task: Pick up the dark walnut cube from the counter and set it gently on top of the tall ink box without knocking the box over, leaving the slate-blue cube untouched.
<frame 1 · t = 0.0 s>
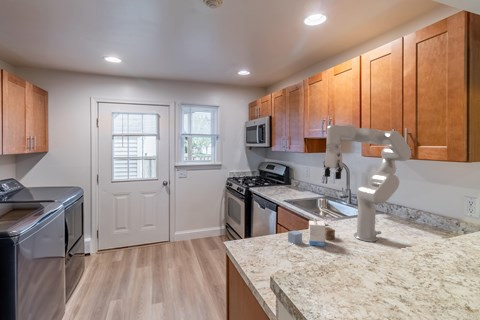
hand: (332, 177, 140), 37 cm above the countertop, tool pointing down, fingers open, 9 cm apart
walnut cube: (327, 238, 148), on the countertop
ink box: (316, 243, 140), on the countertop
slate cube: (294, 242, 142), on the countertop
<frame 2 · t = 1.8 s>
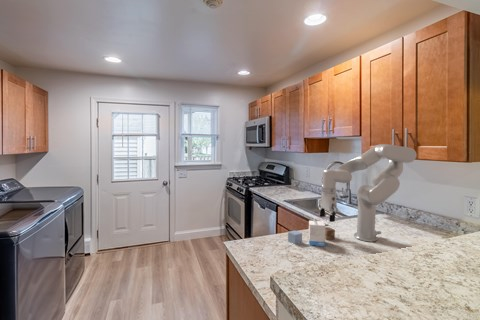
hand: (326, 219, 148), 11 cm above the countertop, tool pointing down, fingers open, 9 cm apart
nothing on the countertop moved.
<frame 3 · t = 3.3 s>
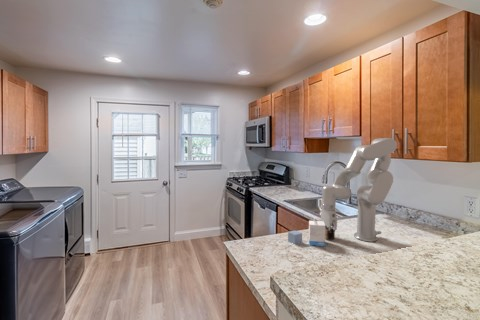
hand: (327, 236, 148), 1 cm above the countertop, tool pointing down, fingers closed on walnut cube, 5 cm apart
walnut cube: (327, 237, 148), on the countertop, touching gripper
everything else where it was.
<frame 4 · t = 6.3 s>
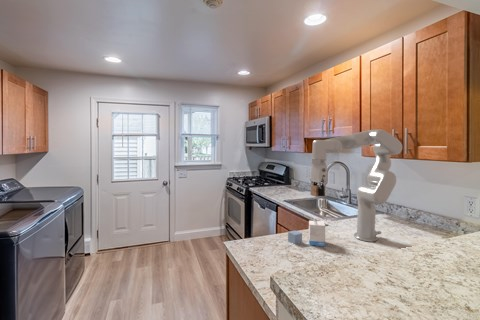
hand: (317, 194, 139), 28 cm above the countertop, tool pointing down, fingers closed on walnut cube, 5 cm apart
walnut cube: (317, 195, 139), point 27 cm above the countertop, touching gripper
everything else where it was.
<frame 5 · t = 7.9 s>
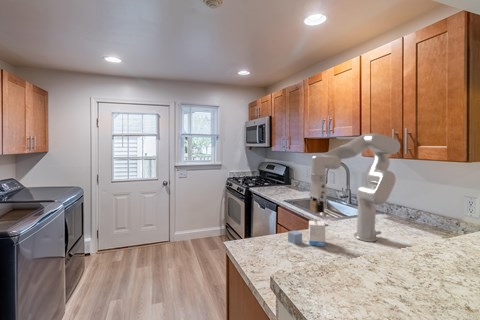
hand: (317, 209, 139), 19 cm above the countertop, tool pointing down, fingers closed on walnut cube, 5 cm apart
walnut cube: (316, 211, 139), point 18 cm above the countertop, touching gripper
everything else where it was.
when the fingers open (14 cm above the countertop, at t = 9.2 s): walnut cube stays where it is, resting on ink box.
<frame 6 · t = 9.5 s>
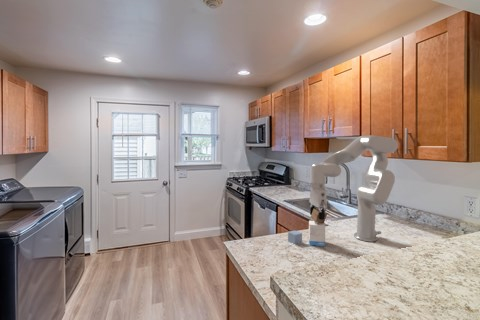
hand: (317, 216, 139), 15 cm above the countertop, tool pointing down, fingers open, 8 cm apart
walnut cube: (317, 220, 140), point 13 cm above the countertop, tilted 18°, touching ink box
ink box: (316, 243, 140), on the countertop, touching walnut cube
everything else where it was.
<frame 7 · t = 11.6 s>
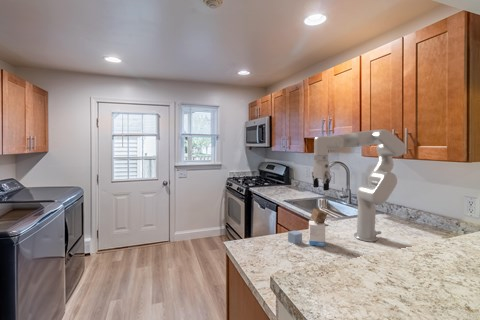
hand: (320, 188, 141), 30 cm above the countertop, tool pointing down, fingers open, 9 cm apart
nothing on the countertop moved.
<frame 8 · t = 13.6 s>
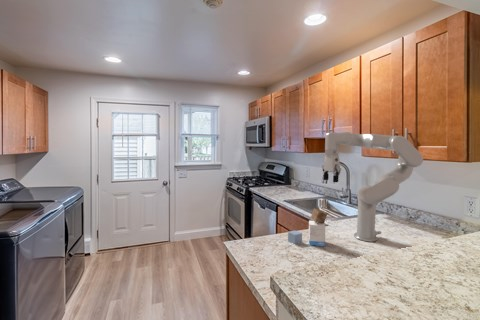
hand: (330, 181, 152), 33 cm above the countertop, tool pointing down, fingers open, 9 cm apart
nothing on the countertop moved.
at the end: walnut cube inside the target area on the ink box (0.3 cm from its centre), point 13.2 cm above the ink box's base; walnut cube tilted 18°; ink box tilted 0° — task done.
